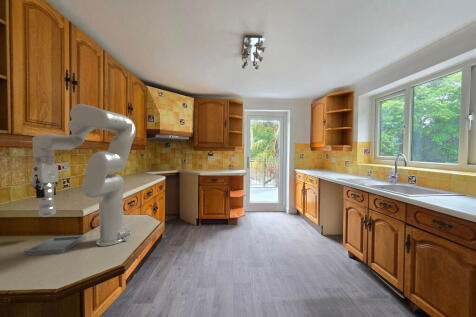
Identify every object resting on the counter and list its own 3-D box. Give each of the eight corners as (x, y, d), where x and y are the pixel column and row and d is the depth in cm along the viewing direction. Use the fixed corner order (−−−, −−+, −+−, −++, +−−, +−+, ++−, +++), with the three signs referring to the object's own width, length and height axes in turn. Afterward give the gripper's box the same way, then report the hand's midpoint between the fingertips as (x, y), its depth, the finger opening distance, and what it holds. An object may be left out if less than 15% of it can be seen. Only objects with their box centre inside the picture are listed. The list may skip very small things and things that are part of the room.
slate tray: (85, 239, 99) (85, 235, 99) (62, 253, 84) (62, 248, 84) (53, 241, 98) (53, 237, 98) (24, 255, 83) (24, 251, 83)
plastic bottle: (45, 218, 98) (43, 177, 98) (35, 218, 99) (32, 177, 99) (60, 214, 104) (57, 175, 104) (49, 214, 106) (47, 176, 105)
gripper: (36, 160, 93) (39, 199, 93) (65, 160, 111) (67, 193, 111) (19, 161, 93) (21, 200, 93) (50, 161, 110) (52, 194, 110)
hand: (46, 196), depth 102 cm, fingers closed on plastic bottle, 6 cm apart
